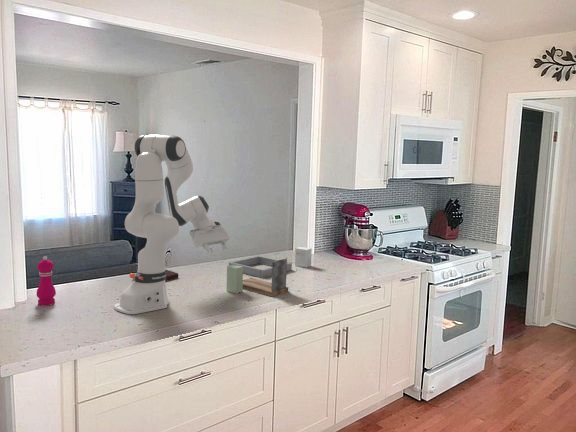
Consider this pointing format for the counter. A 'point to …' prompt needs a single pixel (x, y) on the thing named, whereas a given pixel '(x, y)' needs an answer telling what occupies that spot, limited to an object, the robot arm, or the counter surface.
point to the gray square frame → (256, 271)
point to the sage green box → (234, 278)
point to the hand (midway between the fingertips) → (218, 250)
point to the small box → (303, 257)
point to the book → (169, 275)
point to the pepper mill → (45, 283)
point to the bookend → (277, 281)
